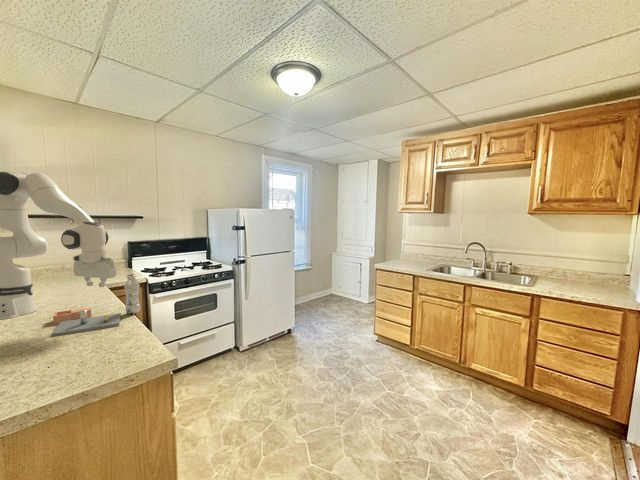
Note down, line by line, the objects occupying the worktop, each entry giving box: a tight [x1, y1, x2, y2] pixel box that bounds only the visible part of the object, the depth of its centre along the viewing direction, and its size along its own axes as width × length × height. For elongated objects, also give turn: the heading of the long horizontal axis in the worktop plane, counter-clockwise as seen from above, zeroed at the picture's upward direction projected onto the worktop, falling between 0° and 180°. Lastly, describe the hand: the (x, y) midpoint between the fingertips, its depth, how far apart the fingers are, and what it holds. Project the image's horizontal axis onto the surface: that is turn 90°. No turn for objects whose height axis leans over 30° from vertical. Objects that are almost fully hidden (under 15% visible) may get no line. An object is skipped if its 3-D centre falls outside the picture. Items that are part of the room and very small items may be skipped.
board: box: [52, 312, 122, 337], centre depth 124 cm, size 22×15×2 cm
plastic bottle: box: [124, 273, 141, 315], centre depth 140 cm, size 6×7×20 cm
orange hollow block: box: [52, 307, 92, 326], centre depth 131 cm, size 13×7×4 cm, turn 130°
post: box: [80, 310, 109, 325], centre depth 123 cm, size 10×2×6 cm, turn 104°
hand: (95, 286), depth 127 cm, fingers open, 5 cm apart
